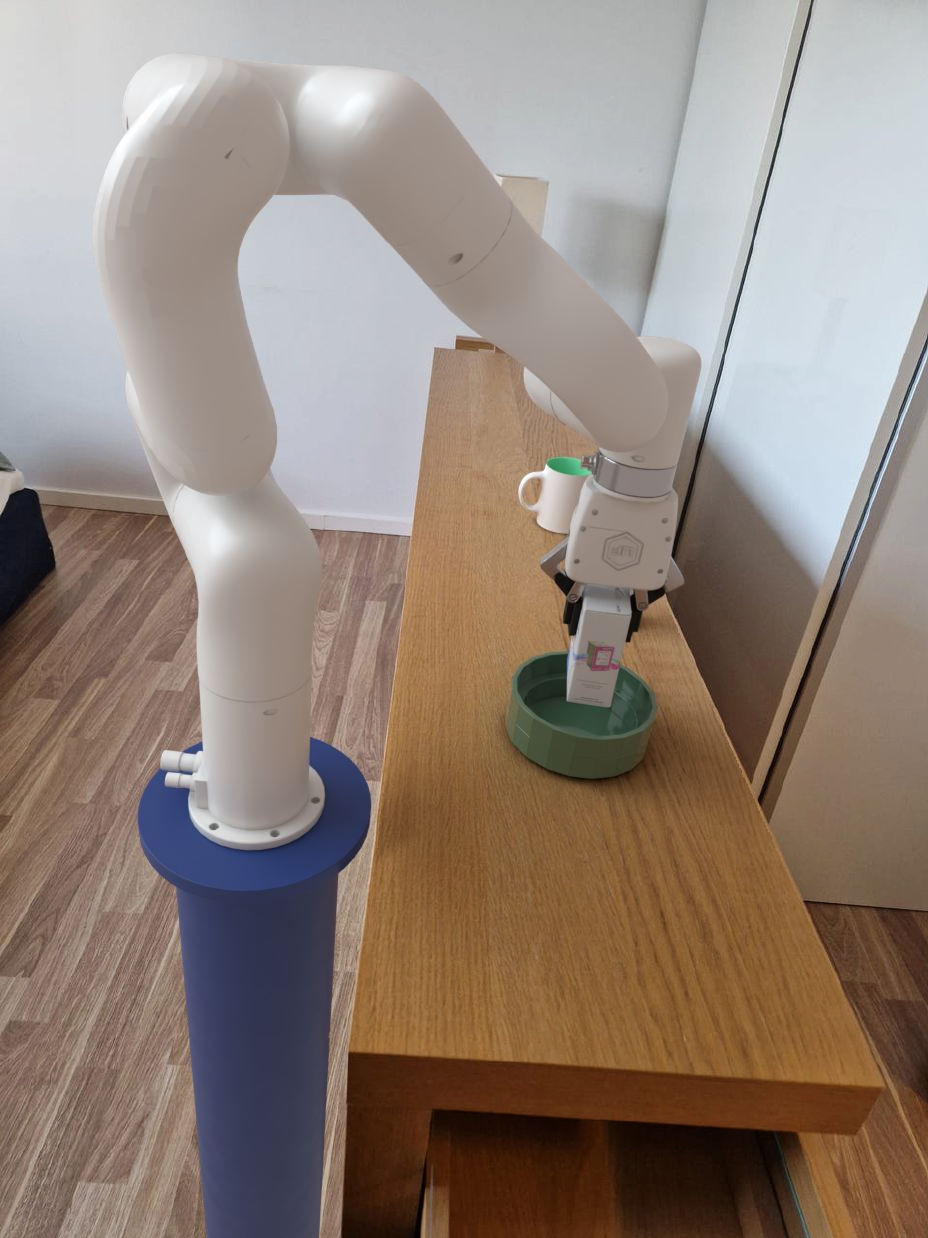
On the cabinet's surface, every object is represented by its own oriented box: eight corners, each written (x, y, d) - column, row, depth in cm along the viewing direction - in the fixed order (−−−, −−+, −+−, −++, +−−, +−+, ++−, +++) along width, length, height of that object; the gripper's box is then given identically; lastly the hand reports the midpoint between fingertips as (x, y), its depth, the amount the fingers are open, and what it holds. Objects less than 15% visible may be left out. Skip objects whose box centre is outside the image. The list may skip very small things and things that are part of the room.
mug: (519, 532, 144) (529, 473, 139) (509, 511, 151) (518, 454, 146) (588, 534, 147) (600, 476, 141) (575, 513, 153) (586, 457, 148)
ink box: (564, 658, 100) (583, 567, 94) (607, 664, 100) (630, 574, 94) (564, 702, 93) (585, 607, 86) (610, 709, 92) (635, 615, 86)
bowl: (504, 773, 93) (512, 729, 90) (505, 684, 107) (511, 644, 104) (654, 790, 93) (667, 747, 90) (635, 700, 107) (646, 660, 104)
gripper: (547, 477, 80) (518, 642, 89) (730, 499, 80) (683, 661, 90) (544, 448, 86) (518, 605, 96) (714, 469, 87) (671, 623, 96)
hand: (598, 630), depth 93 cm, fingers closed on ink box, 5 cm apart
